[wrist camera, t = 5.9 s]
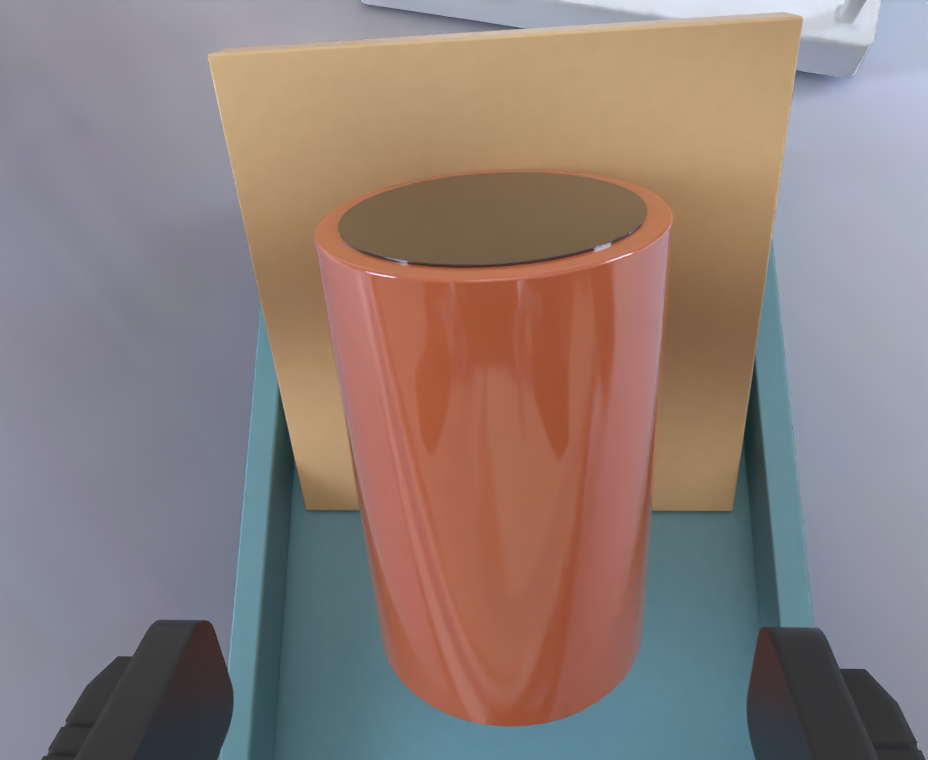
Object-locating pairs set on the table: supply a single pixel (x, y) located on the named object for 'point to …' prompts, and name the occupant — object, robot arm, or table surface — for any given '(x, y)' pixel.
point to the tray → (528, 747)
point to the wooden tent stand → (526, 148)
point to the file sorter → (583, 3)
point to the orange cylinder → (503, 427)
